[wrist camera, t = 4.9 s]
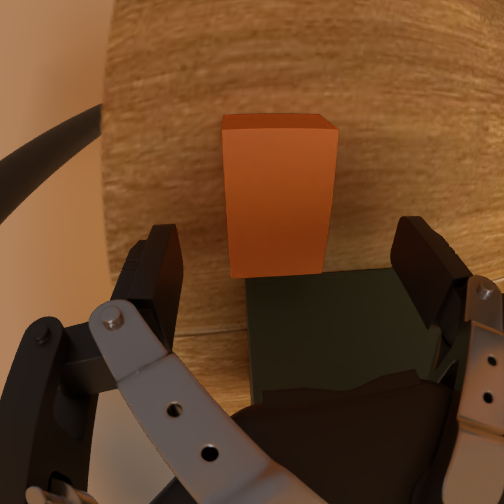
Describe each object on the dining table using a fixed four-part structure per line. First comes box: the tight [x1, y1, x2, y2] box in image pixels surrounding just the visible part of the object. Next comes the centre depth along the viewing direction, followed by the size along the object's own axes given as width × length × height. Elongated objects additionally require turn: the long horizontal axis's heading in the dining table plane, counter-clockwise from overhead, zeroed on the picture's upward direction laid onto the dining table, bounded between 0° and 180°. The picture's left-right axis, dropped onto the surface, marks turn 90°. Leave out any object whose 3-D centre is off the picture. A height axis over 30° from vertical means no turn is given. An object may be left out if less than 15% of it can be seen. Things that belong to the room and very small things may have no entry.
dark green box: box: [245, 268, 441, 405], centre depth 19 cm, size 13×12×10 cm
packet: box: [221, 114, 339, 279], centre depth 14 cm, size 4×7×3 cm, turn 2°
